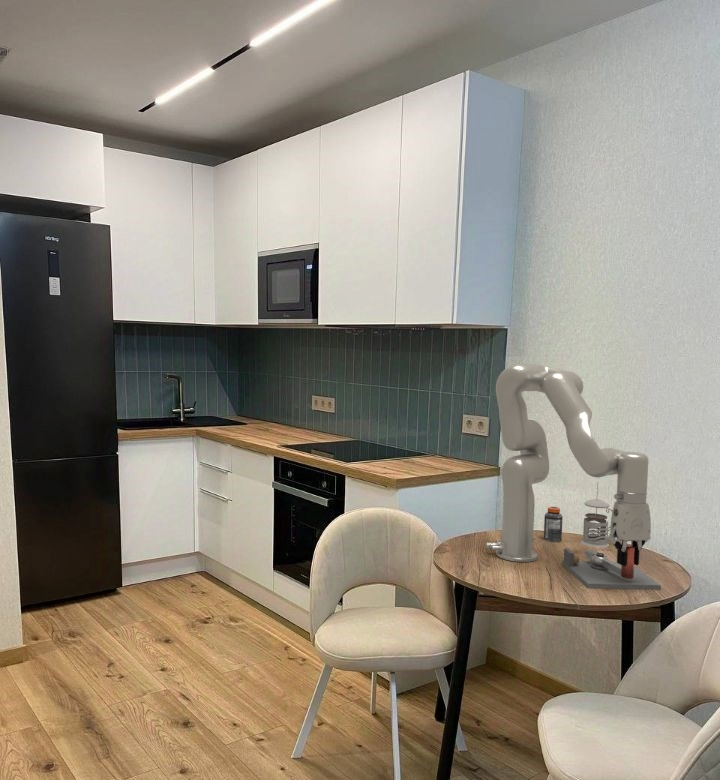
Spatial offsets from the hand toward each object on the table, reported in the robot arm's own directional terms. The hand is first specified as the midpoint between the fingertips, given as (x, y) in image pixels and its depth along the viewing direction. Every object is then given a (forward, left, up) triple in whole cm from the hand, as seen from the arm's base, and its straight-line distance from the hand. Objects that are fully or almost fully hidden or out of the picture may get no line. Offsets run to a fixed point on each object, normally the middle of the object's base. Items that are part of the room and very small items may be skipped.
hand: (627, 563), depth 174 cm
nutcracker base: (-2, +8, -6) cm, 10 cm away
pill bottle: (-6, +45, -6) cm, 45 cm away
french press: (+8, +41, -6) cm, 42 cm away
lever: (-2, +8, -4) cm, 9 cm away
